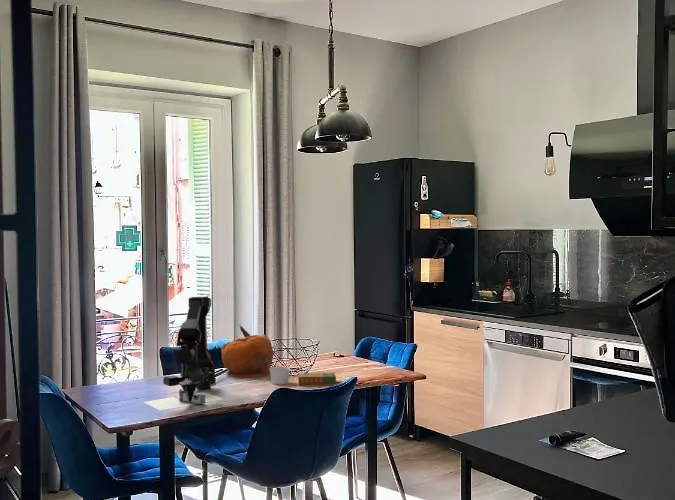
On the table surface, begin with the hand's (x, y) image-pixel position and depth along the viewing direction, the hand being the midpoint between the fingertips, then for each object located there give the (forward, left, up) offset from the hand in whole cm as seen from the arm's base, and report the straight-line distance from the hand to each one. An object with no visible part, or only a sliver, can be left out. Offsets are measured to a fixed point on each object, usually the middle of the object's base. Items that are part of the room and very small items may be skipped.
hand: (189, 401), depth 254 cm
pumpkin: (-40, +50, -3) cm, 64 cm away
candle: (-13, +49, -3) cm, 51 cm away
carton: (-2, +61, -3) cm, 61 cm away
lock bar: (-3, +2, -1) cm, 4 cm away
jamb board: (-7, +1, -2) cm, 8 cm away
